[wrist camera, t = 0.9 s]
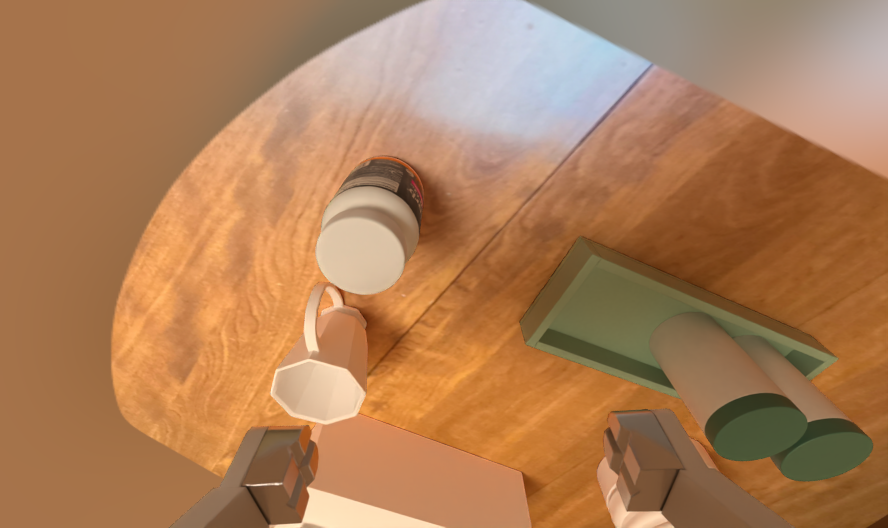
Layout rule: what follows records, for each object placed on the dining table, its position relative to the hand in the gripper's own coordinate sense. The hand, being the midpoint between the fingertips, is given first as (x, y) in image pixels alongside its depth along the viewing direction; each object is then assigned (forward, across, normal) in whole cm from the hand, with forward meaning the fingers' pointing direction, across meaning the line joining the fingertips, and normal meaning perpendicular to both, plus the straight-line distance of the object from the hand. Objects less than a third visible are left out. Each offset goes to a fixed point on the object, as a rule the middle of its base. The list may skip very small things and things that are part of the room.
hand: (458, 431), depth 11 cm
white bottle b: (+20, -26, +19) cm, 38 cm away
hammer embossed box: (+21, +8, +36) cm, 42 cm away
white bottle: (+20, -20, +16) cm, 33 cm away
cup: (+21, +10, +11) cm, 26 cm away
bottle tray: (+20, -19, +15) cm, 32 cm away
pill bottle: (+21, +5, 0) cm, 21 cm away
